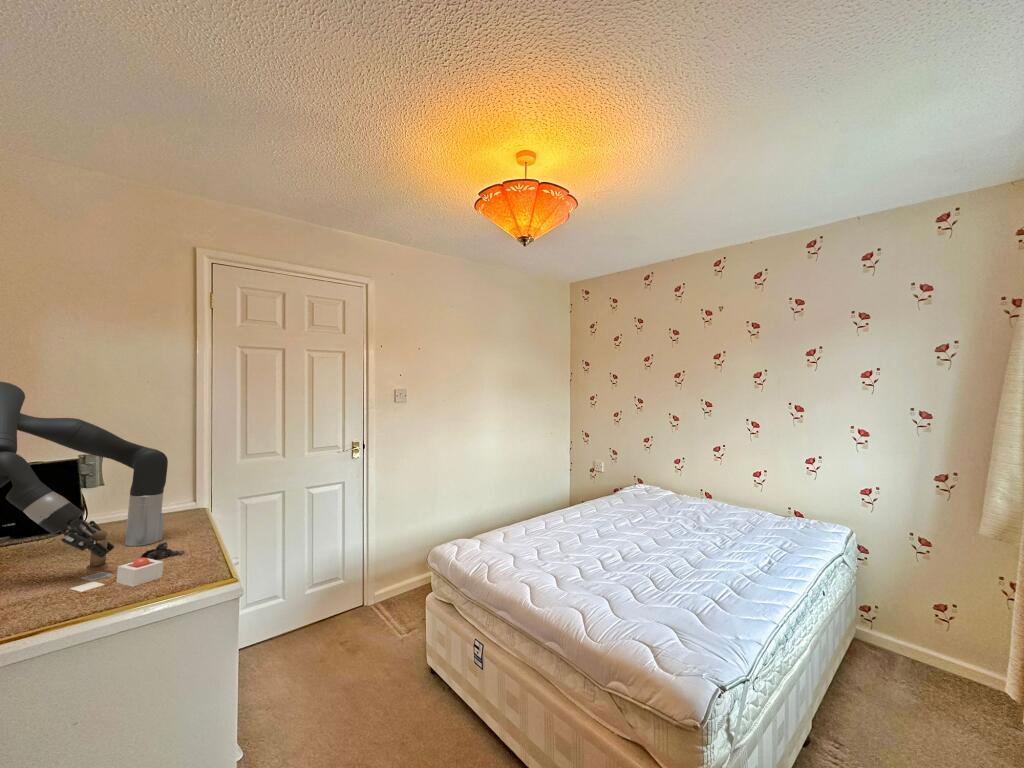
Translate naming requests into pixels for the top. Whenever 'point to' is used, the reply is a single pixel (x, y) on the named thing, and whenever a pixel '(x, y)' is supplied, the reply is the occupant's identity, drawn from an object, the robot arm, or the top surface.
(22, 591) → the top surface
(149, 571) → the popper housing
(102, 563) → the pawn
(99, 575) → the game board
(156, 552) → the stuffed animal
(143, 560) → the popper button
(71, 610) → the top surface
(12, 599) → the top surface
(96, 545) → the robot arm
